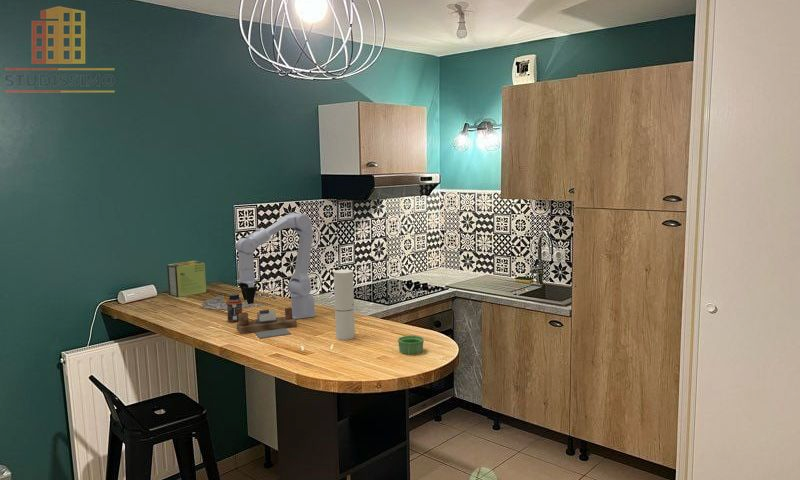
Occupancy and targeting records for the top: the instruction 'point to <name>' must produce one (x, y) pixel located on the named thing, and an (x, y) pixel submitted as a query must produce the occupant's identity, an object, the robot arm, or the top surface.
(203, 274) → the protein box
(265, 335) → the rubber mat
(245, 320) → the body
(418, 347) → the ramekin
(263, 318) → the light switch plate
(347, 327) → the cylindrical container
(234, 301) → the supplement bottle
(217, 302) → the worn metal disc
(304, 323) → the top surface
